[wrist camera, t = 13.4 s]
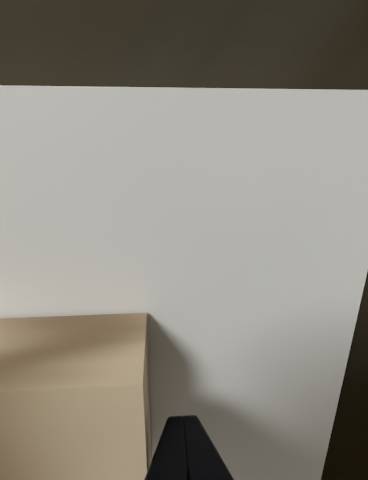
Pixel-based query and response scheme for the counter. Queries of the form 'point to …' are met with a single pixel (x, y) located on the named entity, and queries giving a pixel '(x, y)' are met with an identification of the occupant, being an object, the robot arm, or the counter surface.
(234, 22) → the counter surface
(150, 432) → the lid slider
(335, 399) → the board
